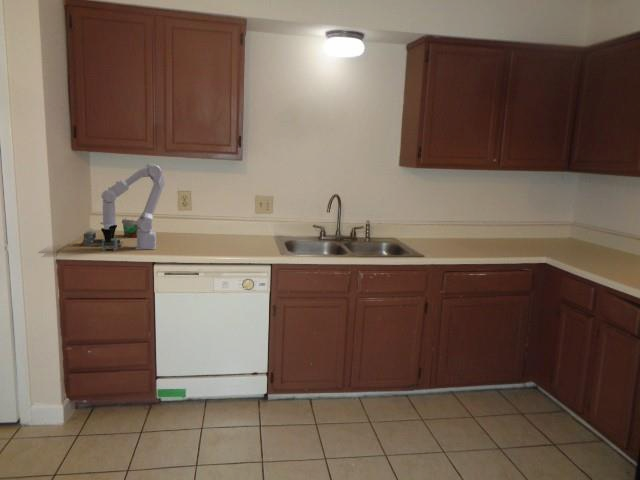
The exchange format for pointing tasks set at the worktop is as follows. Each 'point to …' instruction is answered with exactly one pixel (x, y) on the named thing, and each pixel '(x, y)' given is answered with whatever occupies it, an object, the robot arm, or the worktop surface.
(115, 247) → the block
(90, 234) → the rail base
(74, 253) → the worktop surface
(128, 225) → the food container
